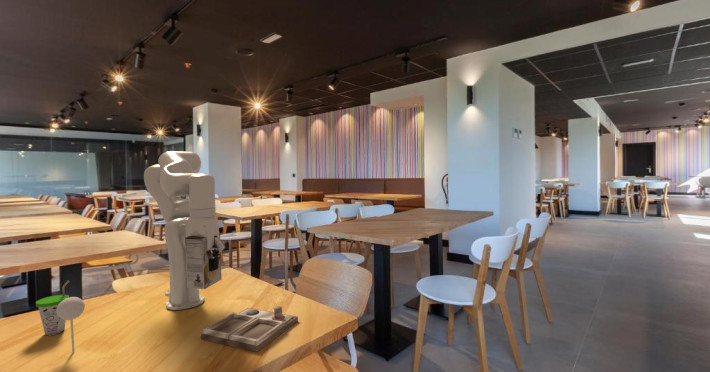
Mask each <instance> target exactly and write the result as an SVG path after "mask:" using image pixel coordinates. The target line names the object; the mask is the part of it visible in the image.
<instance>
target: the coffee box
mask: <svg viewBox="0 0 710 372" xmlns="http://www.w3.org/2000/svg"><path fill="white" fill-rule="evenodd" d="M219 238H220V239H221V232H220V231H219ZM185 244H186V268H187V288H195V289H199V290H207V289H208V288H210V287H211V286H213V285H214V284H216V283H218V282H220V281H222V260H221V259H222V255H221V254H222V253H221V254H220V256H219V257H218V269H217V270H214V271H209V259H210V256H209V251H206V239H205V237H198V236H188V237H185ZM212 248H214V246H213V247H212ZM212 252H213V253H214V251H212Z"/></svg>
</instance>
